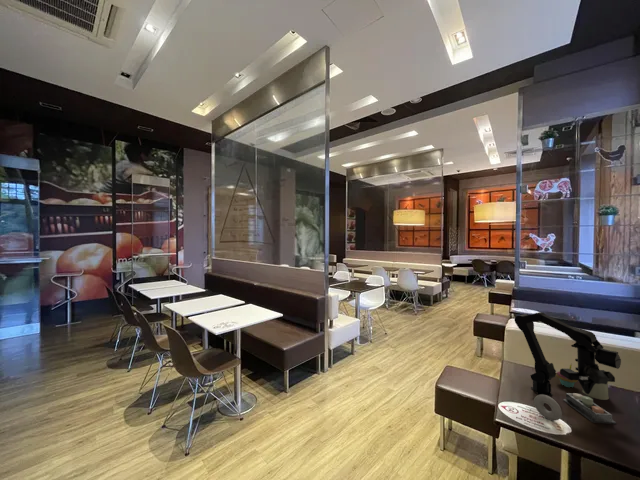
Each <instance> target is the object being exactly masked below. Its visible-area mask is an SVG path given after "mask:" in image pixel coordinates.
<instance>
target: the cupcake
mask: <svg viewBox="0 0 640 480" xmlns="http://www.w3.org/2000/svg"><path fill="white" fill-rule="evenodd" d="M572 365H573V364H570V365H569V368H568V369H571V370H572ZM555 377H557V378H558V379H559V381H560V384H561V385H562V386H563V385H564V386H563V387H566V388H570V387H572V388H574V386H575V384H576V383H578V382H579V381H578V380H569V379H567V378H566V377H564V376H563V375H561V374H560V370H559V371H556V375H555Z"/></svg>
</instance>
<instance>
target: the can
mask: <svg viewBox="0 0 640 480" xmlns="http://www.w3.org/2000/svg"><path fill="white" fill-rule="evenodd" d="M582 393H583V394H584V395H585V396H587V397H590V398H592V399H597V400H602V401H607V400H609V398H610V397H609V382H608V383H607V384H597V383H596V384H595V385H594V386H593V388H592V390H591V391H590V393H589V394H586V393H585V391H584V390H583V389H582Z"/></svg>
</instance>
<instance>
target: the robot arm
mask: <svg viewBox="0 0 640 480" xmlns="http://www.w3.org/2000/svg"><path fill="white" fill-rule="evenodd" d="M513 319H514V322H515V324H516V326H517V328H518V329H519V330H520V331H521V332H522V334H523V335H524V337H525V340H526V343H527V345H528V348H529V350H530V352H531V353H530V354H532V357H533V360H534V370H535V372H534V373H532V374H530V379H531V380H532V386H530V389H531V390H533V391H534V392H535V393H537V395H547V396H553V395H554V394H553V393H552V383H551V380H552V379H553V378H555V377H556V374H557V370H556V368H555V366H554V363H553V362H551V363H550V362H549V361H548V360H547V359H546V357H545V355H544V352H543V350H542V347H541V345H540V343H539V342H540V341H539V340H538V338H537V335H536V333H535V325H534V324H535V323H534V322H540V323H542V324H545V325H546V326H549V327H551V328H553V329H555V330H557V331H558V332H561V333H563V334H565V335H567V336H568V337H569V338H570V339H571V340H572V341H574V343H573V344H571V345H570V346H571V347H572V348H576V349H577V352H576V353H577V355H576V356H577V358H575V359H574V361H575V362H577V367H575V370H576V371H574V370H572V368H571V369H569V368H560V370H559V371H560V374H561V375H563V376H564V377H566V378H567V379H569V380H578V382H579V385H580V386H581V388H582V390H584V391H585V393H586V394H589V393H590V391H591V390H592V388H593V386H594V385H595V384H596V383H597V384H607V383H608V384H609V382H610V383H615V382H616V377H615V375H614V374H613V373H612V372H610V371H606V370H604V369H600V368H599V365H598V364H600V365H603V366H607V367H610V368H614V369H616V370H619V369H620V367H621V365H622V358H621V356H620V355H619V352H618V351H616V350H609V349H605V348H604V346H603V344H602V343H600V341H599V340H598V338H597V336H596V335H595V333H593V332H592V331H589V330H586V329H584V328H579V327H576V326H575V327H574V326H572V325H570V324H567V323H565V322H563V321H560V320H558V319H556V318H554V317H553V316H550V315H548V314H546V313H544V312H541V311H539V312H535V313H533V314H527V313H524V314H520V315H519V314H518V315H516V316H515V317H514V318H513ZM597 363H598V364H597ZM585 393H584V394H585ZM586 394H585V395H586Z"/></svg>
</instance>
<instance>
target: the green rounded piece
mask: <svg viewBox="0 0 640 480" xmlns="http://www.w3.org/2000/svg"><path fill="white" fill-rule="evenodd" d="M582 403H583V404H584V405H585V406H593V403H594V398H593V397H590V396H588V395H583V396H582Z"/></svg>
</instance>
